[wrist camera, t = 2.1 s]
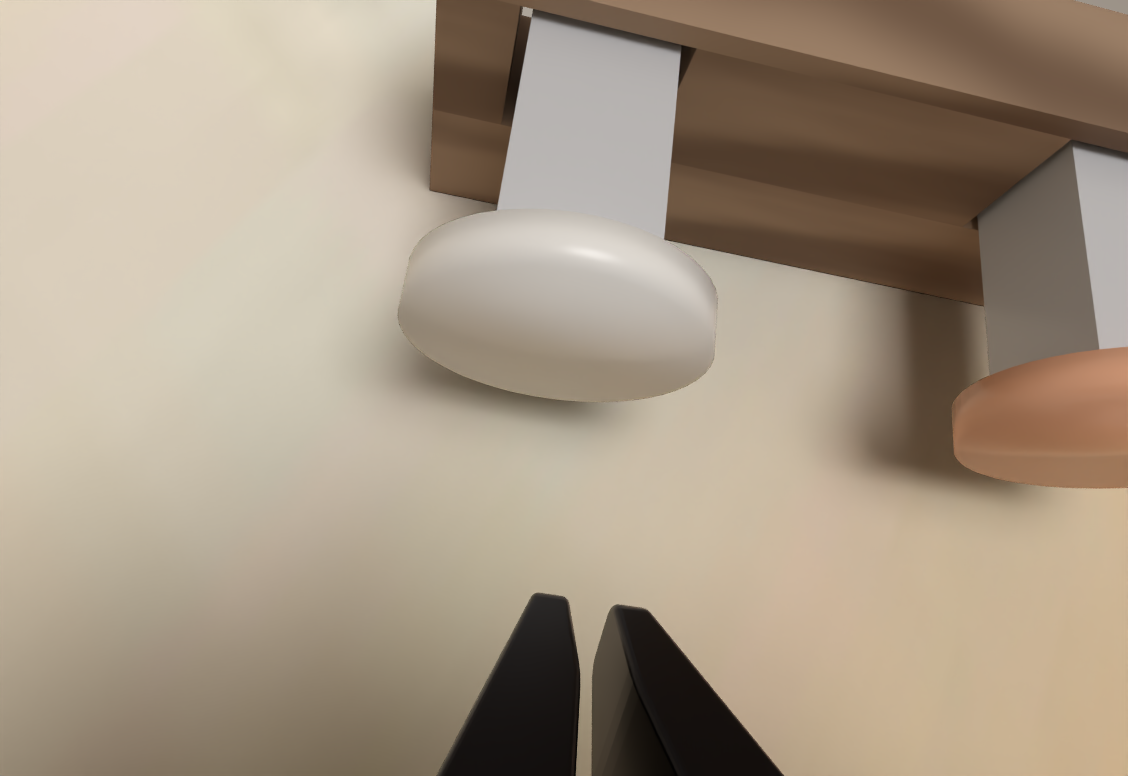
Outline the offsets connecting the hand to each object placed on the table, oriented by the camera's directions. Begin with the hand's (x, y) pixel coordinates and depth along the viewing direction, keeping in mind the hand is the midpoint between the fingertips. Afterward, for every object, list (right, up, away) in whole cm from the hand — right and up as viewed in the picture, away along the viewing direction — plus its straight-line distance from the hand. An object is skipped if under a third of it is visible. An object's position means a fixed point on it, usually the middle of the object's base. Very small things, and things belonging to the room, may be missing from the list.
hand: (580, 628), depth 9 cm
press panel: (+7, +9, +18) cm, 21 cm away
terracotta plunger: (+13, +4, +15) cm, 20 cm away
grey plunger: (0, +7, +13) cm, 15 cm away
